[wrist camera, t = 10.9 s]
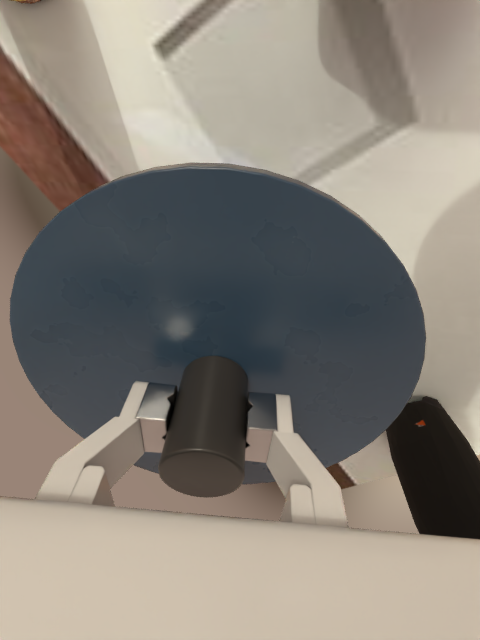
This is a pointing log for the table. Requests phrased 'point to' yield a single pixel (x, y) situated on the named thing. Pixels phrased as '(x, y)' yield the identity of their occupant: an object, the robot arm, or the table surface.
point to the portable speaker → (436, 470)
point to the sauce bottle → (27, 1)
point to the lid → (218, 316)
